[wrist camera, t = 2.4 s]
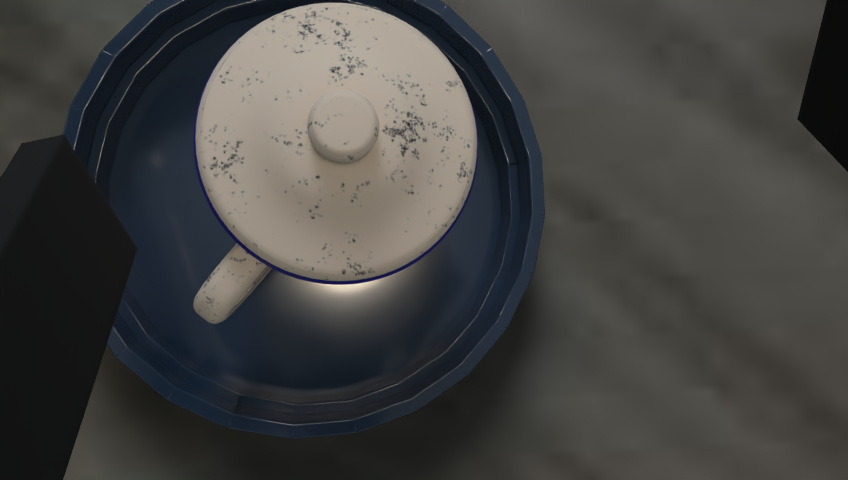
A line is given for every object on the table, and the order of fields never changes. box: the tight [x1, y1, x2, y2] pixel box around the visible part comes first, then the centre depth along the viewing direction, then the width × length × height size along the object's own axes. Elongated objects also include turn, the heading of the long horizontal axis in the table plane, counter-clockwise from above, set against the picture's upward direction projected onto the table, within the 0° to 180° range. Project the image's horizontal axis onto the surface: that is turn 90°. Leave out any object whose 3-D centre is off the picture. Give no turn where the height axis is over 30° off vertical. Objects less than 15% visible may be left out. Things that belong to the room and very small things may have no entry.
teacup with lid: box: [193, 3, 478, 324], centre depth 24 cm, size 12×9×12 cm
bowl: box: [63, 0, 545, 439], centre depth 28 cm, size 19×19×3 cm
